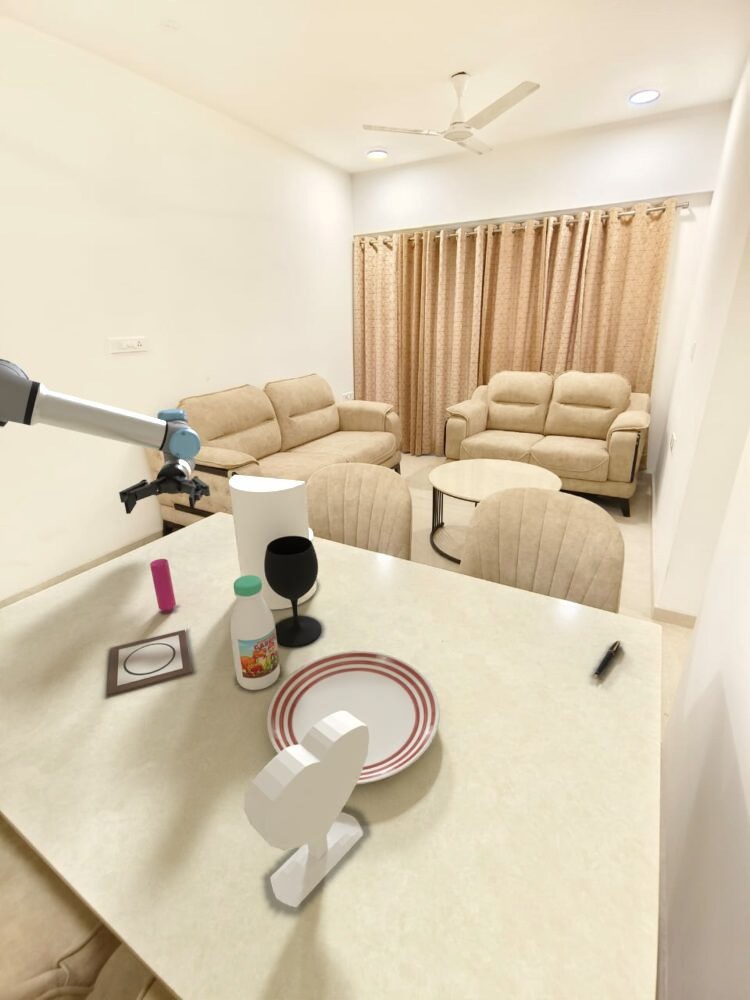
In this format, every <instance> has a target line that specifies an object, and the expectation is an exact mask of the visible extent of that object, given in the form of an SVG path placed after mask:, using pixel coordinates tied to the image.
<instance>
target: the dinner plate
mask: <svg viewBox="0 0 750 1000" xmlns="http://www.w3.org/2000/svg"><path fill="white" fill-rule="evenodd" d="M338 711H347V712H348V713H350V714H351V715H352V716H354V717H355V718H357V719H358V720H360V721H361V722H362V723H364V724H365V725H367V727H368V732H369V746H368V755H367V758H366V761H365V764H364V766H363V769H362V772H361V775H360V778H359V780H358V781H357V783H356V785H357V786H358V785H365V784H370V783H375V782H378V781H381V780H384V779H387V778H389V777H393V776H395V775H396V774H399V773H400V772H402V771H404V770H405V769H407V768H409V767H410V766H411V765H413V764H414V763H415V762H417V760H419V759H420V758H421V756H422V755H423V754H424V753H425V752H427V750H428V748H429V747H430V745H431V744H432V742H433V741H434V739H435V736H436V734H437V732H438V728H439V724H440V716H441V707H440V702H439V697H438V694H437V692H436V689H435V688H434V686H433V685H432V683H431V682H430V680H429V679H428V677H427V676H426V675H425V674H424V673H423V672H421V670H419V669H418V668H417V667H416V666H414V665H412V664H411V663H409V662H408V661H406V660H404V659H401V658H399V657H397V656H394V655H392V654H388V653H385V652H381V651H374V650H354V649H353V650H345V651H338V652H337V651H336V652H333V653H330V654H325V655H323V656H322V655H321V657H318V658H315V659H313V660H310V661H309V662H307V663H305V664H303V665H301V666H300V667H298V668H297V669H295V671H293V672H292V673H291V674H290V675H289V676H287V677H286V678H285V680H284V681H282V683H281V684H280V685H279V687H278V689H277V690H276V692H274V695H273V696H272V698H271V701H270V704H269V707H268V710H267V717H266V726H267V733H268V737H269V740H270V743H271V745H272V747H273V749H274V751H275V752H276V755H277V754H279V753H280V752H281V751H282V750H283V749H285V748H287V747H289V746H293V745H298V744H300V743H301V742H302V740H303V739H304V737H305V736H306V734H307V733H308V732H309V730H310V729H311V728H312V727H313V726H314V725H315V724H317V723H318V722H319V721H321V720H322V719H324V718H326V717H327V716H329V715H331V714H333V713H336V712H338ZM356 785H355V786H356Z"/></svg>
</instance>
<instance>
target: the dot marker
mask: <svg viewBox="0 0 750 1000" xmlns="http://www.w3.org/2000/svg"><path fill="white" fill-rule="evenodd" d="M149 566H150V567H149V568H150V573H151V576H152V582H153V587H154V592H155V597H156V602H157V607H158V609H159V610H161V611H162V613H164V614H169V613H171V612H173V611H174V610H175V608H174V607H175V606H176V605H177V602H176V597H175V591H174V586H173V580H172V576H171V569H170V565H169V560H168V559H166V558H157V559H155V560H152V561H150V563H149Z"/></svg>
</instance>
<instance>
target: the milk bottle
mask: <svg viewBox="0 0 750 1000" xmlns="http://www.w3.org/2000/svg"><path fill="white" fill-rule="evenodd" d="M233 592H234V596H235V597H236V599H235V601H236V602H235V605H234V608H233V611H232V613H231V616H230V623H229V629H230V639H231V648H232V654H233V655H232V656H233V661H234V668H235V676H236V680H237V681H236V682H238V684H239V685H240V686H241V687H242V688H244V689H245V690H249V691H258V690H263V689H266V688H268V687H271V686H272V685H273V684H274V683H275V682H276V681H277V680H278V678H279V676H280V671H281V670H280V669H281V667H280V657H279V648H278V647H279V646H278V644H277V637H276V629H275V625H276V622H275V617H274V615H273V611H272V609H270V608H269V607H268V605H267V604H266V602H265V601H264V599H263V597H262V594H261V593H262V582H261V579H260V578H259V577H257V576H254V575H247V576H242V577H241V576H240V577H238V578H237V579H235V580H234V581H233Z"/></svg>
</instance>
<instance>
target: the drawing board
mask: <svg viewBox="0 0 750 1000" xmlns="http://www.w3.org/2000/svg"><path fill="white" fill-rule="evenodd" d="M189 648H190V647H189V642H188V636H187V630H186V629H182V630H178V631H175V632H174V631H173V632H170V633H166V634H161V635H158V636H153V637H149V638H145V639H142V640H138V641H132V642H128V643H125V644H121V645H117V646H113V647H111V648H110V655H109V668H108V669H109V671H108V683H107V684H108V685H107V697H110V696H114V695H118V694H122V693H125V692H128V691H129V692H130V691H132V690H136V689H139V688H143V687H147V686H151V685H154V684H158V683H161V682H166V681H169V680H173V679H176V678H180V677H183V676H187V675H191V674H193V669H192V661H191V656H190V649H189Z"/></svg>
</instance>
